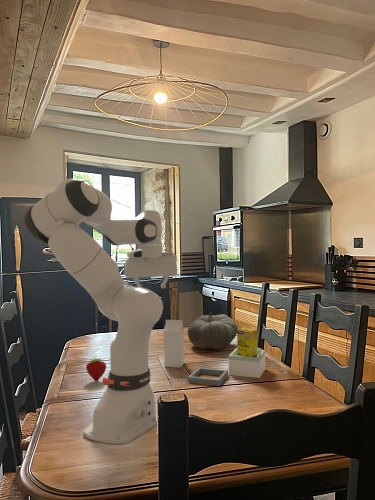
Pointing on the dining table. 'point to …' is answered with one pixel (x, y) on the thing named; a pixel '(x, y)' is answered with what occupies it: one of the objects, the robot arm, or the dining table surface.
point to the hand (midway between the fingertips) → (151, 288)
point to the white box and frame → (232, 369)
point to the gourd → (212, 331)
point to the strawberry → (96, 368)
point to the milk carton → (174, 343)
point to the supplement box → (247, 342)
